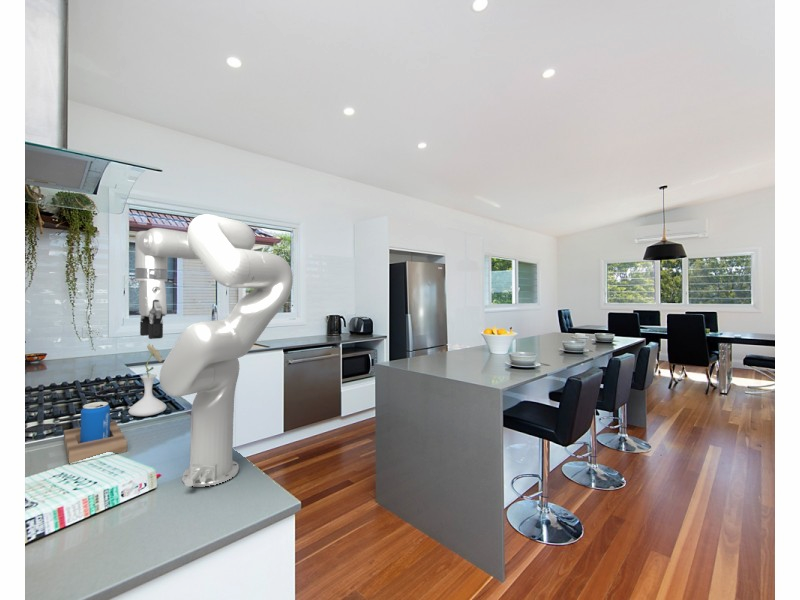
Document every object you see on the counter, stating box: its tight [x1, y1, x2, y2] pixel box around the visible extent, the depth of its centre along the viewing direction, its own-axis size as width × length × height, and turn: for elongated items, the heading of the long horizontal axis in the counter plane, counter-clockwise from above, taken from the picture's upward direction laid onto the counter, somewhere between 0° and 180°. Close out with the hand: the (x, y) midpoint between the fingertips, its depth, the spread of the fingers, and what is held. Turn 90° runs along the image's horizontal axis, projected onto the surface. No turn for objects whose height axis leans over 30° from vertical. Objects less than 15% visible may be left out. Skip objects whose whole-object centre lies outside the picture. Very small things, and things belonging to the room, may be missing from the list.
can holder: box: [63, 420, 128, 464], centre depth 105 cm, size 20×12×3 cm, turn 46°
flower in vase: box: [128, 343, 168, 417], centre depth 133 cm, size 13×11×25 cm
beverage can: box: [80, 401, 111, 443], centre depth 105 cm, size 6×6×12 cm
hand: (151, 336), depth 103 cm, fingers open, 9 cm apart
